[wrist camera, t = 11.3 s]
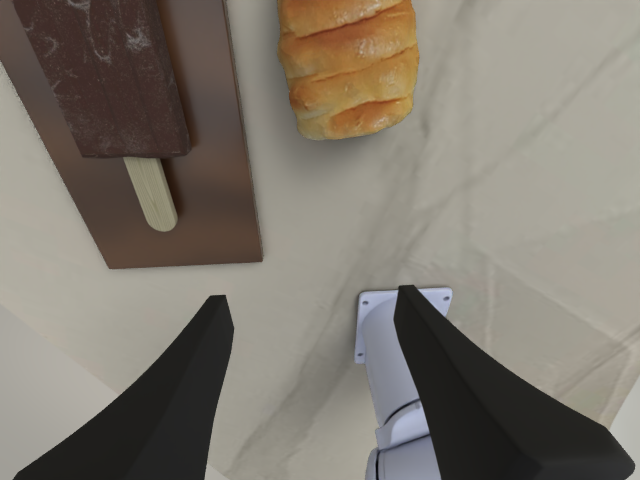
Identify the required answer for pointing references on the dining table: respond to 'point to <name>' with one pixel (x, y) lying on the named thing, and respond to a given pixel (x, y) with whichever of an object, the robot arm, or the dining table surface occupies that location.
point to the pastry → (348, 64)
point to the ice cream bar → (114, 87)
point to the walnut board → (180, 172)
